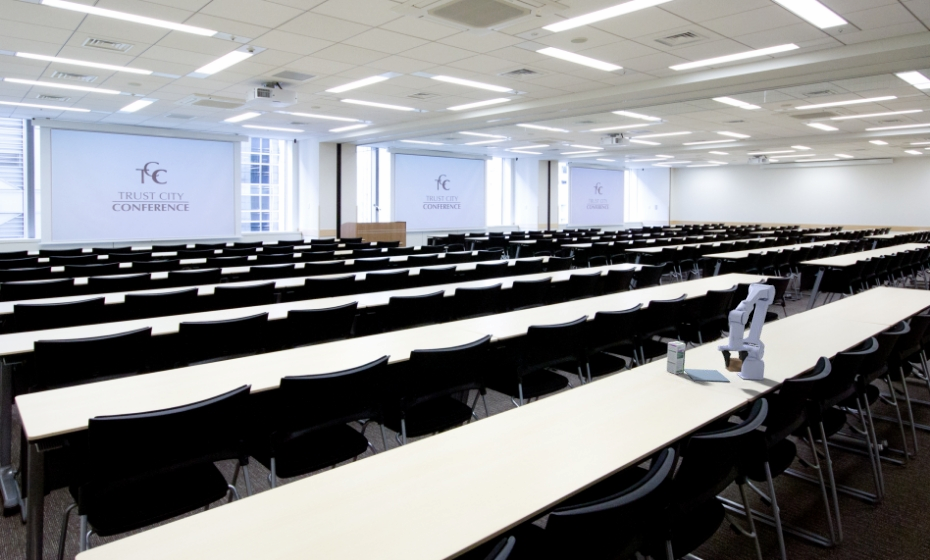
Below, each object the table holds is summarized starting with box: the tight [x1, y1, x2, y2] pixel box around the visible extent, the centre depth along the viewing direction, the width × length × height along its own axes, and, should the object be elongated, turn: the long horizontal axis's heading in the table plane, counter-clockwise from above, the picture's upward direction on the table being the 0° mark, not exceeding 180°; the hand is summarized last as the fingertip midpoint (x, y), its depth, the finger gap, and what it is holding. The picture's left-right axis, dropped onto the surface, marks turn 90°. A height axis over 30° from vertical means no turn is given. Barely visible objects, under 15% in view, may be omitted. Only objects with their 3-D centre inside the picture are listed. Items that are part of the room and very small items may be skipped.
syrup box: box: [666, 340, 687, 375], centre depth 278 cm, size 6×6×14 cm
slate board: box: [684, 368, 731, 383], centre depth 274 cm, size 16×16×1 cm
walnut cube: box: [724, 357, 742, 373], centre depth 260 cm, size 5×5×5 cm
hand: (733, 366), depth 261 cm, fingers closed on walnut cube, 5 cm apart
